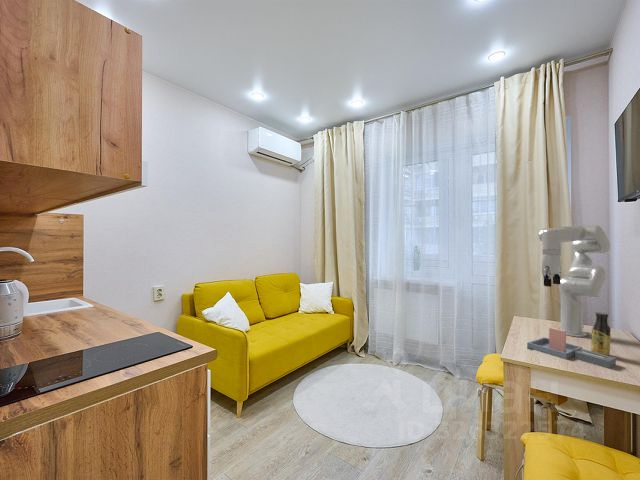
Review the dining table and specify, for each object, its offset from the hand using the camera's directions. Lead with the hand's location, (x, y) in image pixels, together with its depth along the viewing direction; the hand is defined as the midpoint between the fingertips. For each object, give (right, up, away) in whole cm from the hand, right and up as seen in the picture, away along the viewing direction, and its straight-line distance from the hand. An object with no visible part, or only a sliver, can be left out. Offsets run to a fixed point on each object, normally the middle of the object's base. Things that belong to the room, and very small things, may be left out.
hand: (552, 285), depth 153 cm
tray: (-10, -30, -13) cm, 34 cm away
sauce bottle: (+7, -30, -19) cm, 36 cm away
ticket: (-9, -29, -14) cm, 33 cm away
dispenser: (-3, -30, -27) cm, 40 cm away
